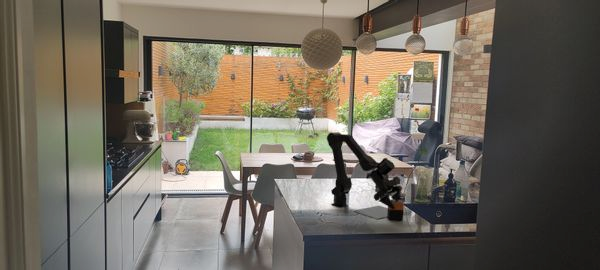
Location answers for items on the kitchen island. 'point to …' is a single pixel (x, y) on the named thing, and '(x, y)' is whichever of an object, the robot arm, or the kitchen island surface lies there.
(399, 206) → the battery
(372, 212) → the mat
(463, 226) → the kitchen island surface
